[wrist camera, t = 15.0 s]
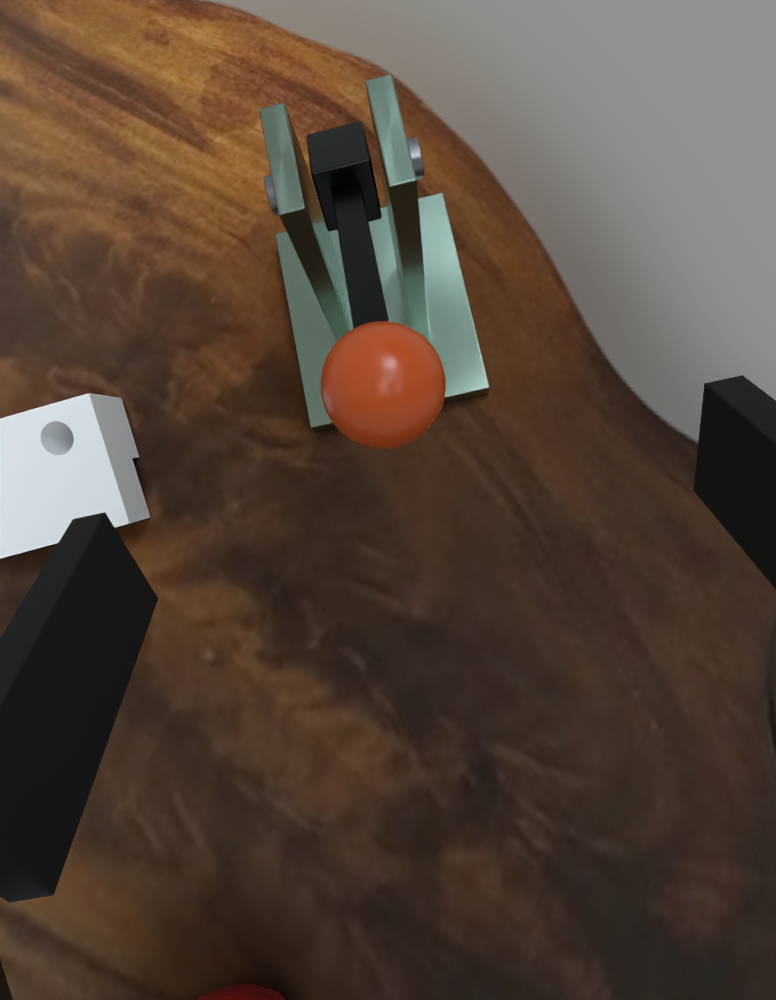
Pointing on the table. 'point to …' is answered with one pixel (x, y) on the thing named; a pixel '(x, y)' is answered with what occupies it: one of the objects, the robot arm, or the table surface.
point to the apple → (242, 993)
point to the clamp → (398, 248)
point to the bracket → (66, 470)
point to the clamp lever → (369, 311)
